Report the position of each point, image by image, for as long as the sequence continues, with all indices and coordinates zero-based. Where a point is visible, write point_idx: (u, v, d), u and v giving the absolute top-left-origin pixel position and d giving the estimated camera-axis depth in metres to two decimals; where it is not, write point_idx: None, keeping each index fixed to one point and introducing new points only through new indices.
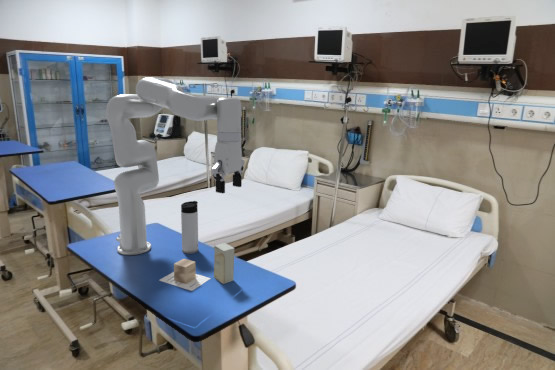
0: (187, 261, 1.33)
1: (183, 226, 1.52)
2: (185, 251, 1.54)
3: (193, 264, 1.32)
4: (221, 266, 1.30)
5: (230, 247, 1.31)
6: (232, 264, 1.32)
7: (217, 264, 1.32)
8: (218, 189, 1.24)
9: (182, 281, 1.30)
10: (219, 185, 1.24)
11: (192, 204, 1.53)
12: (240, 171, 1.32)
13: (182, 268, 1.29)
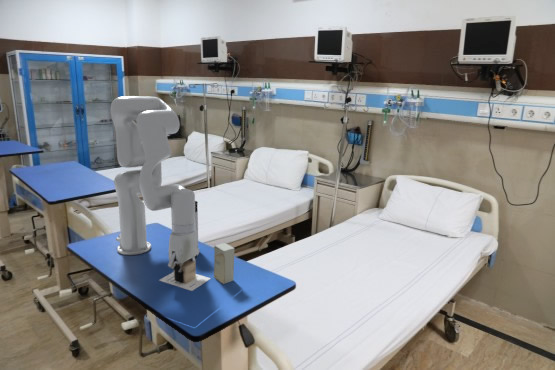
0: (187, 261, 1.33)
1: None
2: None
3: (193, 264, 1.32)
4: (221, 266, 1.30)
5: (230, 247, 1.31)
6: (232, 264, 1.32)
7: (217, 264, 1.32)
8: (177, 279, 1.29)
9: None
10: (178, 275, 1.29)
11: None
12: None
13: (182, 268, 1.29)
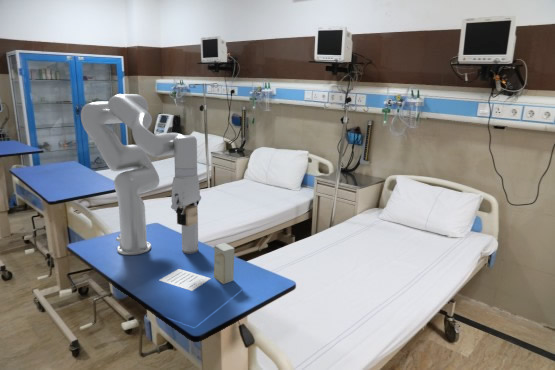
0: (189, 206, 1.39)
1: (183, 226, 1.52)
2: (185, 251, 1.54)
3: (195, 208, 1.38)
4: (221, 266, 1.30)
5: (230, 247, 1.31)
6: (232, 264, 1.32)
7: (217, 264, 1.32)
8: (179, 221, 1.36)
9: None
10: (180, 218, 1.35)
11: None
12: None
13: None
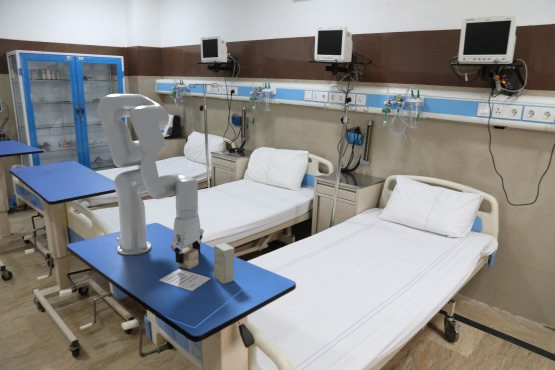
0: (190, 249, 1.43)
1: None
2: None
3: (196, 252, 1.43)
4: (221, 266, 1.30)
5: (230, 247, 1.31)
6: (232, 264, 1.32)
7: (217, 264, 1.32)
8: (177, 260, 1.38)
9: (186, 267, 1.41)
10: (178, 257, 1.37)
11: None
12: (199, 240, 1.45)
13: (186, 255, 1.40)
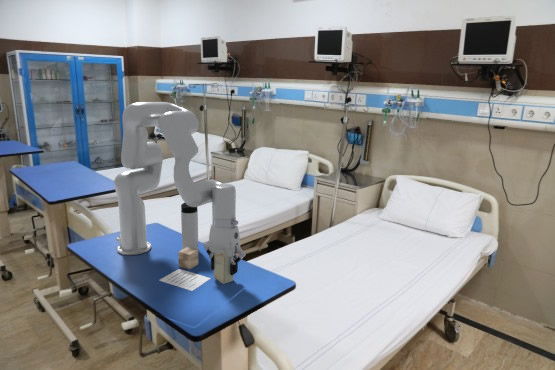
0: (190, 249, 1.43)
1: (183, 226, 1.52)
2: None
3: (196, 252, 1.43)
4: (221, 266, 1.30)
5: None
6: None
7: (217, 264, 1.32)
8: None
9: (186, 267, 1.41)
10: None
11: None
12: (231, 260, 1.30)
13: (186, 255, 1.40)
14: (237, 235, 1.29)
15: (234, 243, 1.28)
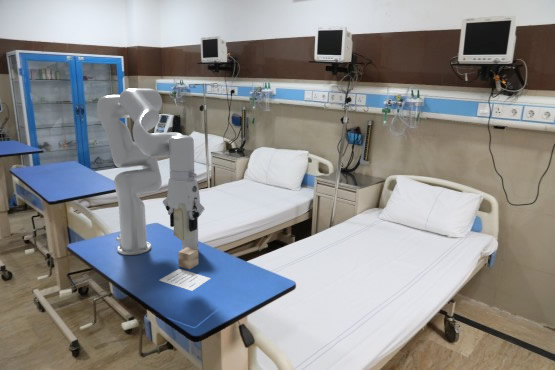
0: (190, 249, 1.43)
1: None
2: None
3: (196, 252, 1.43)
4: (179, 222, 1.25)
5: None
6: None
7: (176, 220, 1.27)
8: None
9: (186, 267, 1.41)
10: None
11: None
12: (190, 215, 1.25)
13: (186, 255, 1.40)
14: (196, 189, 1.24)
15: (192, 197, 1.23)
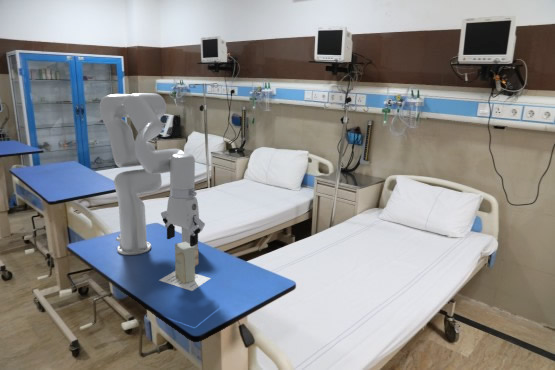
0: None
1: None
2: None
3: (196, 252, 1.43)
4: (181, 265, 1.29)
5: (190, 246, 1.30)
6: (193, 263, 1.30)
7: (178, 263, 1.31)
8: None
9: None
10: None
11: None
12: (191, 231, 1.26)
13: None
14: (195, 207, 1.26)
15: (192, 215, 1.25)
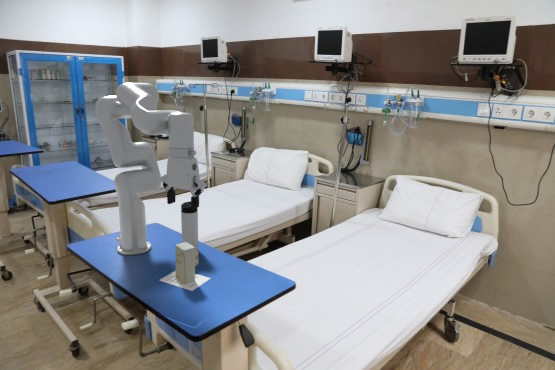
0: None
1: (183, 226, 1.52)
2: None
3: (196, 252, 1.43)
4: (181, 266, 1.29)
5: (191, 246, 1.30)
6: (193, 263, 1.30)
7: (178, 263, 1.31)
8: None
9: None
10: None
11: None
12: (192, 192, 1.22)
13: None
14: (195, 167, 1.23)
15: (192, 175, 1.21)
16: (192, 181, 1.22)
